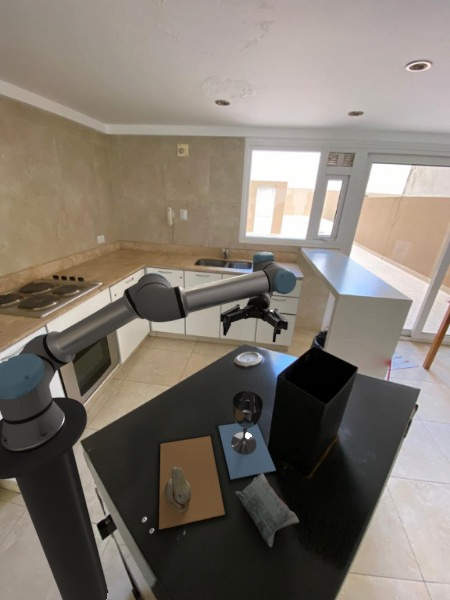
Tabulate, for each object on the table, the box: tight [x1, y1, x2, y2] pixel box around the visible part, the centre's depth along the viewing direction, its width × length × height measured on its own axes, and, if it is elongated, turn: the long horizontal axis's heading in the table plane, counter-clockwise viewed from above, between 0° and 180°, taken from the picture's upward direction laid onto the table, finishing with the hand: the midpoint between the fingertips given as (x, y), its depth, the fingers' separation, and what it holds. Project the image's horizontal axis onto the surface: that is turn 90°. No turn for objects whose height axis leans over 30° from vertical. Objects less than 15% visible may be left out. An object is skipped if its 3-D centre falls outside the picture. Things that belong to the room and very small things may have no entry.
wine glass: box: [231, 390, 264, 455], centre depth 69 cm, size 8×8×15 cm
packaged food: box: [234, 471, 300, 548], centre depth 55 cm, size 9×12×5 cm
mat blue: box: [217, 422, 277, 480], centre depth 71 cm, size 16×12×1 cm
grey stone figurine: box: [165, 467, 191, 513], centre depth 56 cm, size 6×8×10 cm
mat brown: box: [158, 435, 226, 530], centre depth 63 cm, size 20×14×1 cm
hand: (248, 334), depth 68 cm, fingers open, 13 cm apart
